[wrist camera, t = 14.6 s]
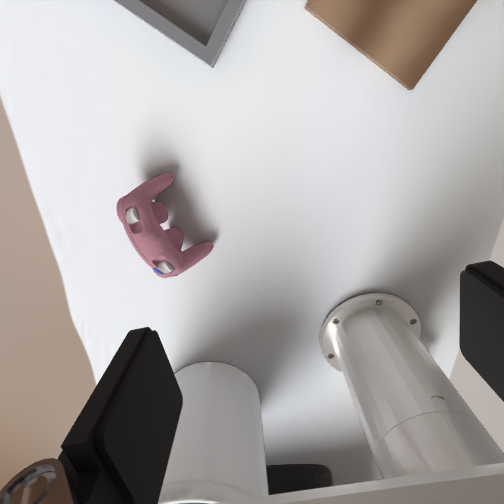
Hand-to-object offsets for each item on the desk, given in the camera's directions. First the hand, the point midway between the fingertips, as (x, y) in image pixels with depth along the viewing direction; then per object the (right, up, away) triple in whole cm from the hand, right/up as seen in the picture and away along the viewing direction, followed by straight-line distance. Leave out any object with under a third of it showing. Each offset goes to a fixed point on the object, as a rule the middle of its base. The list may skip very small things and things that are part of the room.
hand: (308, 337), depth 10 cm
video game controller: (-10, +6, +26) cm, 28 cm away
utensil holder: (-7, -18, +37) cm, 41 cm away
